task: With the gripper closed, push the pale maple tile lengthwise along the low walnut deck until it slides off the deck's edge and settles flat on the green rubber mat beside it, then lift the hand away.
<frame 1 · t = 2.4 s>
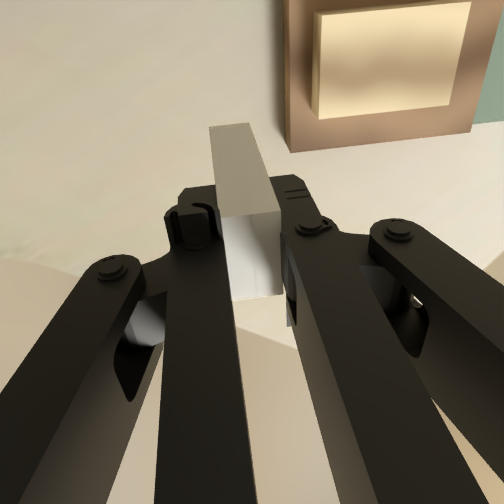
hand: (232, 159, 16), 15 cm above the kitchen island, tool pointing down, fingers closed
maple tile: (378, 57, 27), point 2 cm above the kitchen island, touching walnut deck
walnut deck: (381, 50, 28), on the kitchen island
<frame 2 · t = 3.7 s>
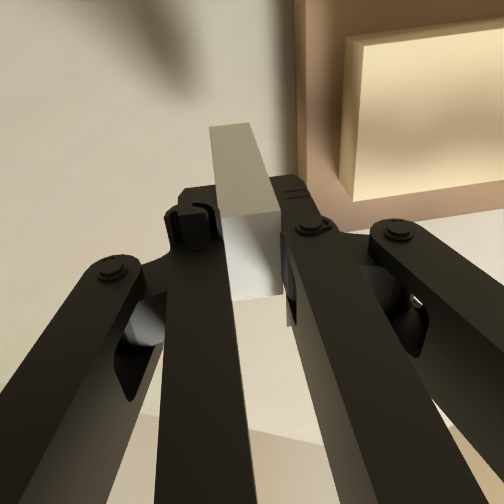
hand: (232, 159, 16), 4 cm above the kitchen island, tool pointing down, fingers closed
maple tile: (445, 102, 17), point 2 cm above the kitchen island, touching walnut deck
walnut deck: (443, 86, 19), on the kitchen island
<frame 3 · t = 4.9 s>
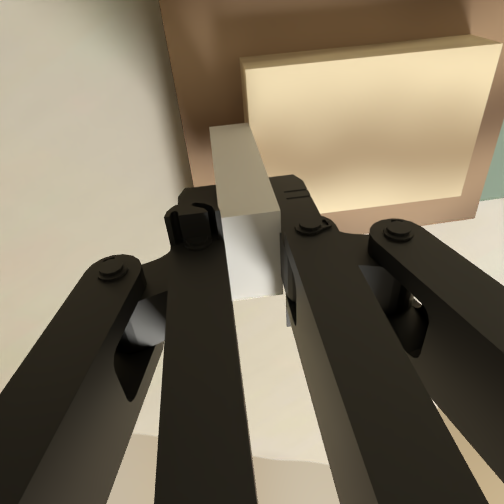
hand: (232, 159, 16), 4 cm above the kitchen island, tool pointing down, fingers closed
maple tile: (350, 123, 17), point 2 cm above the kitchen island, touching gripper, walnut deck
walnut deck: (336, 106, 19), on the kitchen island
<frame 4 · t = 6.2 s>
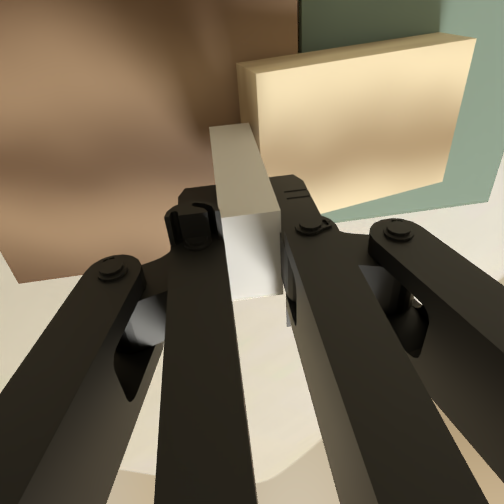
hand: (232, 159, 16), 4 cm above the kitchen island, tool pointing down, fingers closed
maple tile: (339, 122, 17), point 2 cm above the kitchen island, tilted 13°, touching gripper, rubber mat
walnut deck: (135, 132, 18), on the kitchen island
rubber mat: (409, 99, 19), on the kitchen island
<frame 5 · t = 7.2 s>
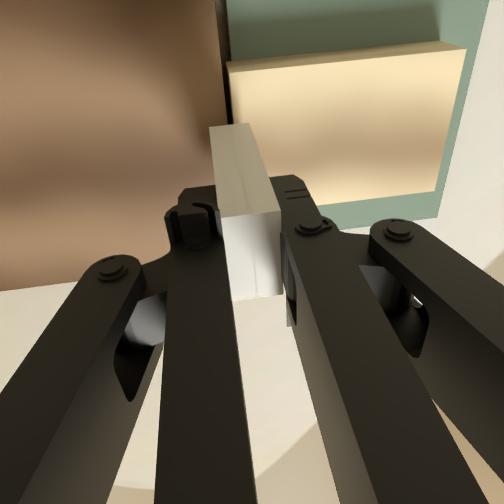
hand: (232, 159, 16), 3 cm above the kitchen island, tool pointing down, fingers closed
maple tile: (330, 123, 18), resting on rubber mat
walnut deck: (70, 146, 18), on the kitchen island
rubber mat: (349, 115, 19), on the kitchen island
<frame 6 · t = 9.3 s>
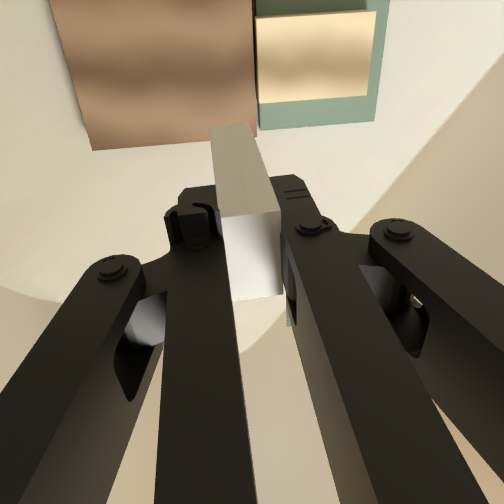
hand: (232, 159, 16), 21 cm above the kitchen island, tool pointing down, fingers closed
maple tile: (309, 55, 33), resting on rubber mat
walnut deck: (165, 63, 32), on the kitchen island
rubber mat: (319, 52, 33), on the kitchen island
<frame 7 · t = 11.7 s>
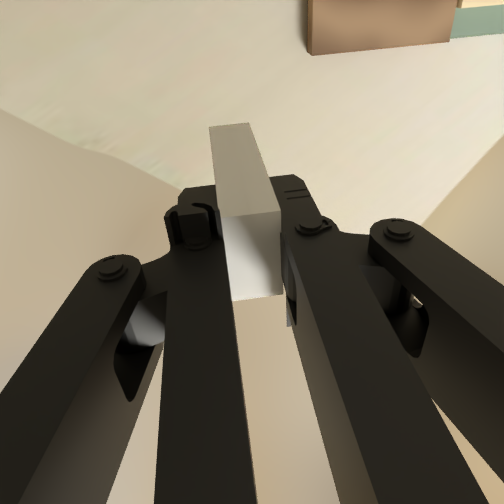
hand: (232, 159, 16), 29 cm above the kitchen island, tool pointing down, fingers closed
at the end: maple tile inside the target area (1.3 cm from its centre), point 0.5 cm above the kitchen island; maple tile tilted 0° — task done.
